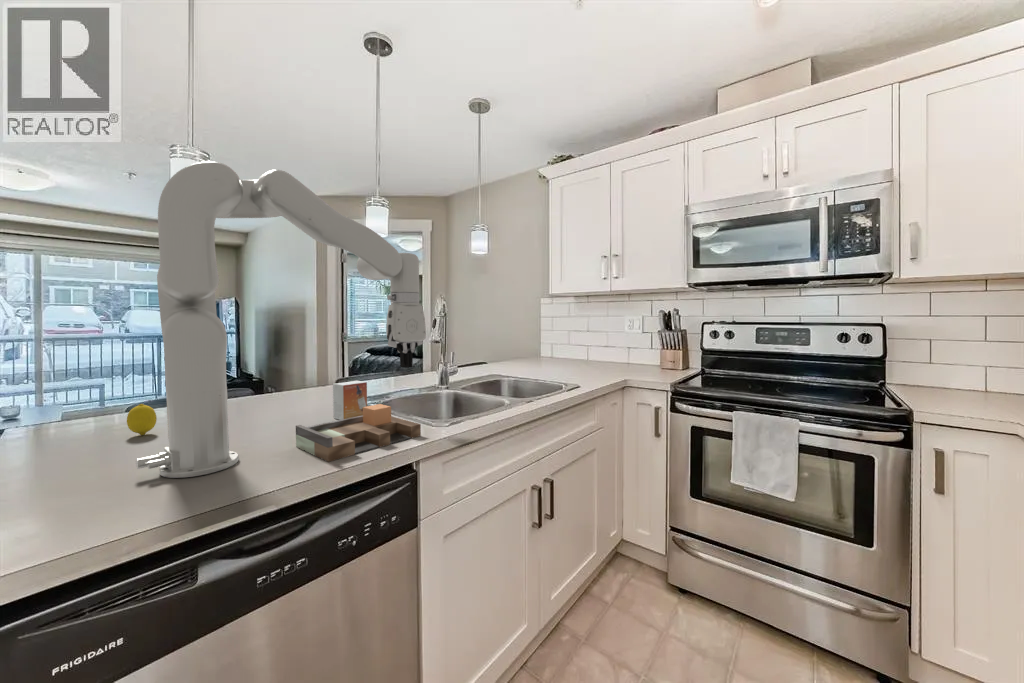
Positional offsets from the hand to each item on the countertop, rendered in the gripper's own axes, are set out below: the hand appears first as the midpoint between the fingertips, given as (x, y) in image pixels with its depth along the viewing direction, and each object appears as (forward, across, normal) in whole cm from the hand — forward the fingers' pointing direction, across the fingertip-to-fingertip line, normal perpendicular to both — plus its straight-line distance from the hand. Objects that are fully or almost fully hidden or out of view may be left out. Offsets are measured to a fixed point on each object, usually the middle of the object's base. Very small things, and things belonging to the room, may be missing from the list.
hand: (406, 367), depth 111 cm
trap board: (+16, -15, -2) cm, 23 cm away
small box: (+17, -5, +21) cm, 27 cm away
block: (+13, -9, 0) cm, 16 cm away
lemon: (+16, -48, +44) cm, 67 cm away
